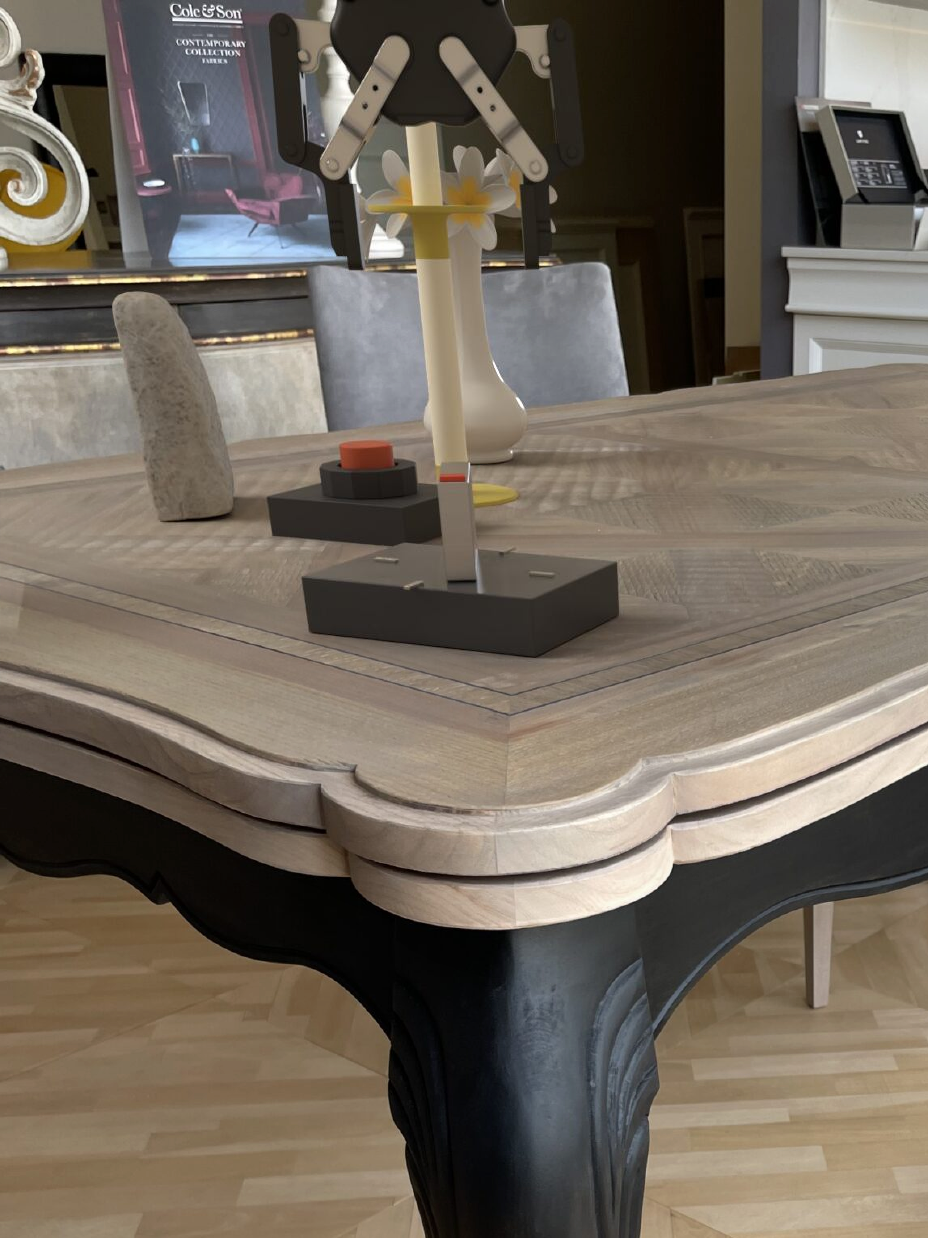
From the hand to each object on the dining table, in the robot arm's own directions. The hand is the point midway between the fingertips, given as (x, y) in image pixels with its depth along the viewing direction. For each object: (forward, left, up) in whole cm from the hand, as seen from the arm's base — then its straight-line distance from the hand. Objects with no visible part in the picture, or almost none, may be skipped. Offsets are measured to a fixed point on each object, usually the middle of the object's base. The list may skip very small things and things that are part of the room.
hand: (444, 269), depth 75 cm
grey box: (-1, +1, -15) cm, 15 cm away
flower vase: (-32, +54, -18) cm, 65 cm away
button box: (-21, +22, -18) cm, 35 cm away
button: (-21, +22, -14) cm, 33 cm away
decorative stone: (-38, +24, -18) cm, 48 cm away
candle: (-23, +36, -18) cm, 46 cm away
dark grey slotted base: (-1, +1, -18) cm, 18 cm away
